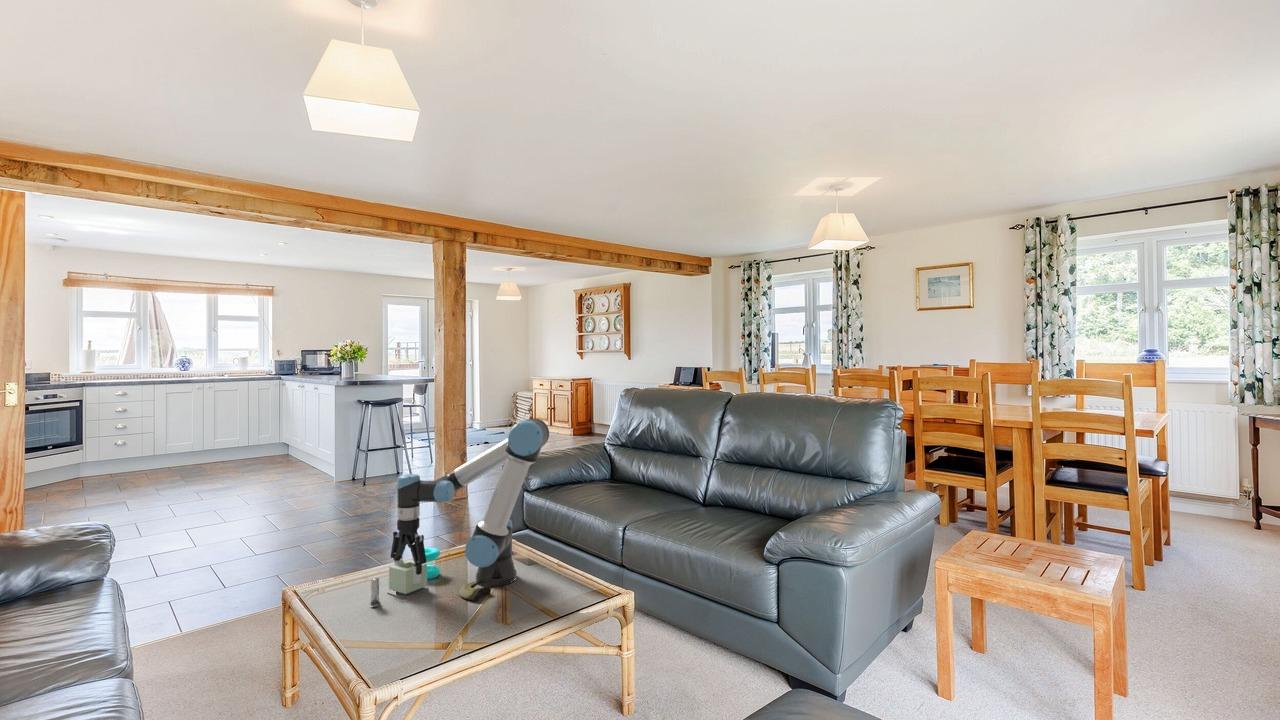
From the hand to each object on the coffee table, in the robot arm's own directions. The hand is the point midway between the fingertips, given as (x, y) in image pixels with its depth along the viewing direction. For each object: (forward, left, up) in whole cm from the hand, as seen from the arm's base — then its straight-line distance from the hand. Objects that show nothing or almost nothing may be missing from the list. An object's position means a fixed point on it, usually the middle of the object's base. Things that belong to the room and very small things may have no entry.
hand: (408, 580), depth 210 cm
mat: (0, 0, -4) cm, 4 cm away
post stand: (-1, +14, -4) cm, 15 cm away
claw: (-21, -12, -5) cm, 25 cm away
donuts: (+7, -14, -4) cm, 16 cm away
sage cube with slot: (0, 0, -2) cm, 2 cm away
